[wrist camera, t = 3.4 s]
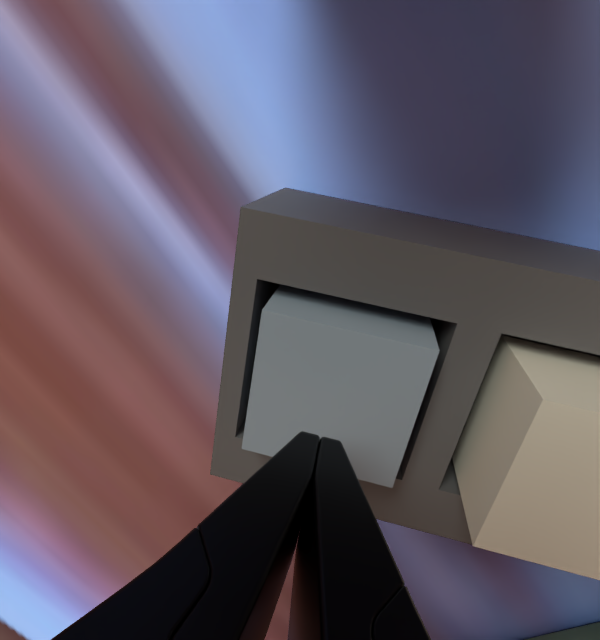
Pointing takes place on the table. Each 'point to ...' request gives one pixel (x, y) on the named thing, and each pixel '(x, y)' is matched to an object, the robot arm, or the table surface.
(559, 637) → the tea set
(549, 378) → the white key
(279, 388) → the slate blue key
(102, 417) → the table surface
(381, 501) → the keypad
